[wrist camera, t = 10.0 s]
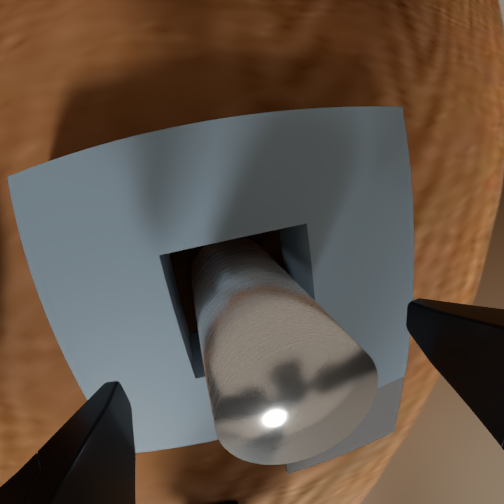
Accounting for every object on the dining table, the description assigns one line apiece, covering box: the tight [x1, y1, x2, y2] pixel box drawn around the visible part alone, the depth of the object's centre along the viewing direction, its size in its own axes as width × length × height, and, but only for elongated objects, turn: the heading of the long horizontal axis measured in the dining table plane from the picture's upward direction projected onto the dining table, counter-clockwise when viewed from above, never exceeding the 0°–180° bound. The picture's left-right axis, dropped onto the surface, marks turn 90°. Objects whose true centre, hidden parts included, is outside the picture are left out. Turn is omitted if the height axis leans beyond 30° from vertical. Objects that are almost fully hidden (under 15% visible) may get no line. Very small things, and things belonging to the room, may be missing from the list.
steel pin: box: [191, 237, 378, 465], centre depth 11 cm, size 4×4×10 cm
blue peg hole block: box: [7, 106, 414, 453], centre depth 14 cm, size 14×16×4 cm
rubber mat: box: [285, 376, 404, 474], centre depth 21 cm, size 10×10×1 cm
